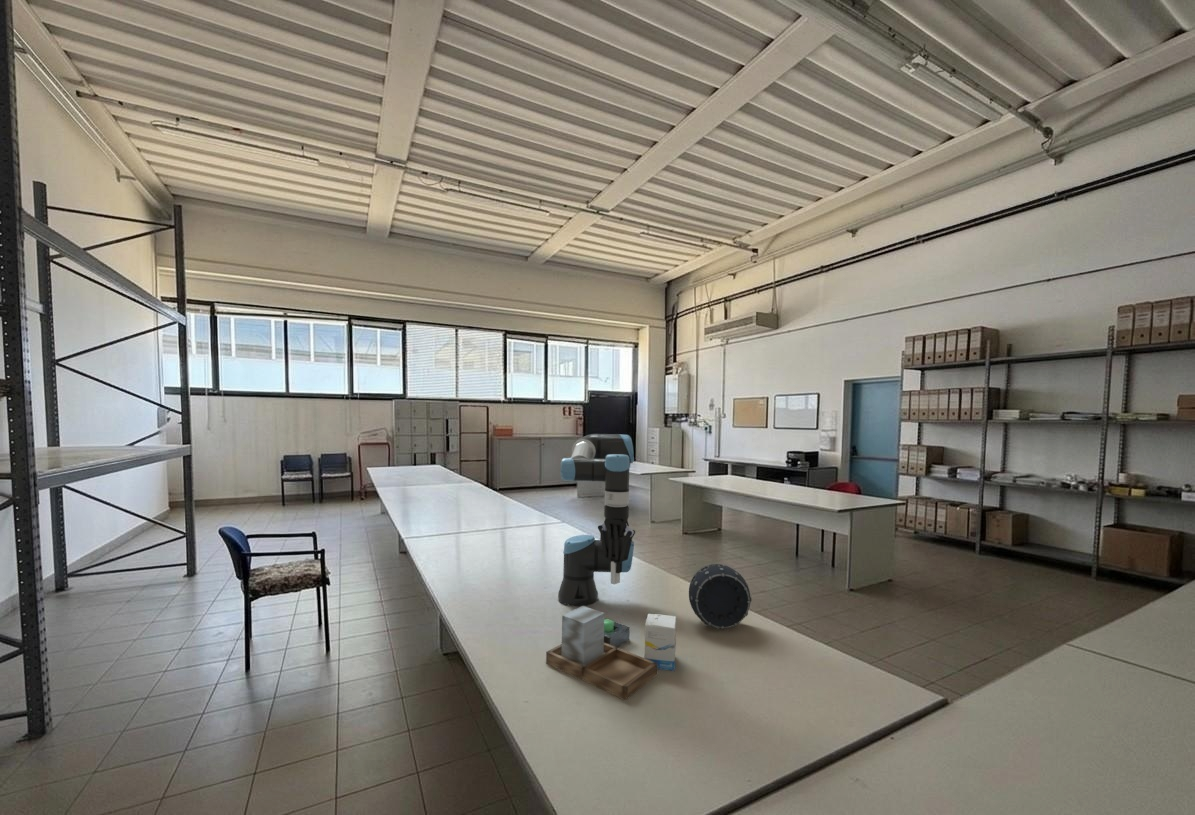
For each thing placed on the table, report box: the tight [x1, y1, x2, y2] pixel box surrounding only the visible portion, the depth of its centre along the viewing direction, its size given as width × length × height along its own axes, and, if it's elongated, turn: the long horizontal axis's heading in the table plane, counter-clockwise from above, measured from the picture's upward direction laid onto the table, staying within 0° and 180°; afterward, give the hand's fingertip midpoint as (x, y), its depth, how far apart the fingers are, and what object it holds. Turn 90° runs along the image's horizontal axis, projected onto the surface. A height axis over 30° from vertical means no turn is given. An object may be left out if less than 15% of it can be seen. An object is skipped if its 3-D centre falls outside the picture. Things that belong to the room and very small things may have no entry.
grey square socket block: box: [604, 617, 631, 648], centre depth 145 cm, size 10×10×4 cm
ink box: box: [643, 613, 677, 671], centre depth 133 cm, size 9×8×12 cm
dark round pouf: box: [688, 563, 753, 630], centre depth 157 cm, size 11×20×20 cm, turn 89°
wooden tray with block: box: [545, 606, 658, 701], centre depth 129 cm, size 27×15×13 cm, turn 52°
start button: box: [604, 618, 615, 633], centre depth 145 cm, size 4×4×5 cm
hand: (615, 582), depth 143 cm, fingers closed
